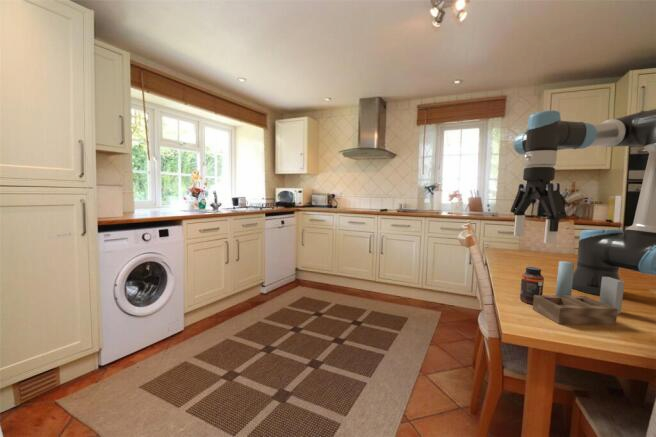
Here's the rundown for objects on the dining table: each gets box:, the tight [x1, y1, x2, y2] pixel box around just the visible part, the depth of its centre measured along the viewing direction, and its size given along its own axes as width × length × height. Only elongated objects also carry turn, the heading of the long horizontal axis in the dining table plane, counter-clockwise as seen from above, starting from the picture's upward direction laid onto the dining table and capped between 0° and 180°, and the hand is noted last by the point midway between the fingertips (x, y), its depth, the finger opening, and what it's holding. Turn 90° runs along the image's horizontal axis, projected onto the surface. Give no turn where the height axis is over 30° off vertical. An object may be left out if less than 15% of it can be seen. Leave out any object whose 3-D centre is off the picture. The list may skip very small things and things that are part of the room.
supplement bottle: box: [519, 266, 545, 305], centre depth 97 cm, size 6×6×11 cm
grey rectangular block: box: [598, 277, 625, 315], centre depth 91 cm, size 2×5×10 cm, turn 1°
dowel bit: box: [555, 260, 575, 296], centre depth 99 cm, size 4×4×13 cm
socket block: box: [532, 294, 618, 326], centre depth 86 cm, size 16×10×4 cm, turn 91°
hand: (533, 239), depth 89 cm, fingers open, 13 cm apart
